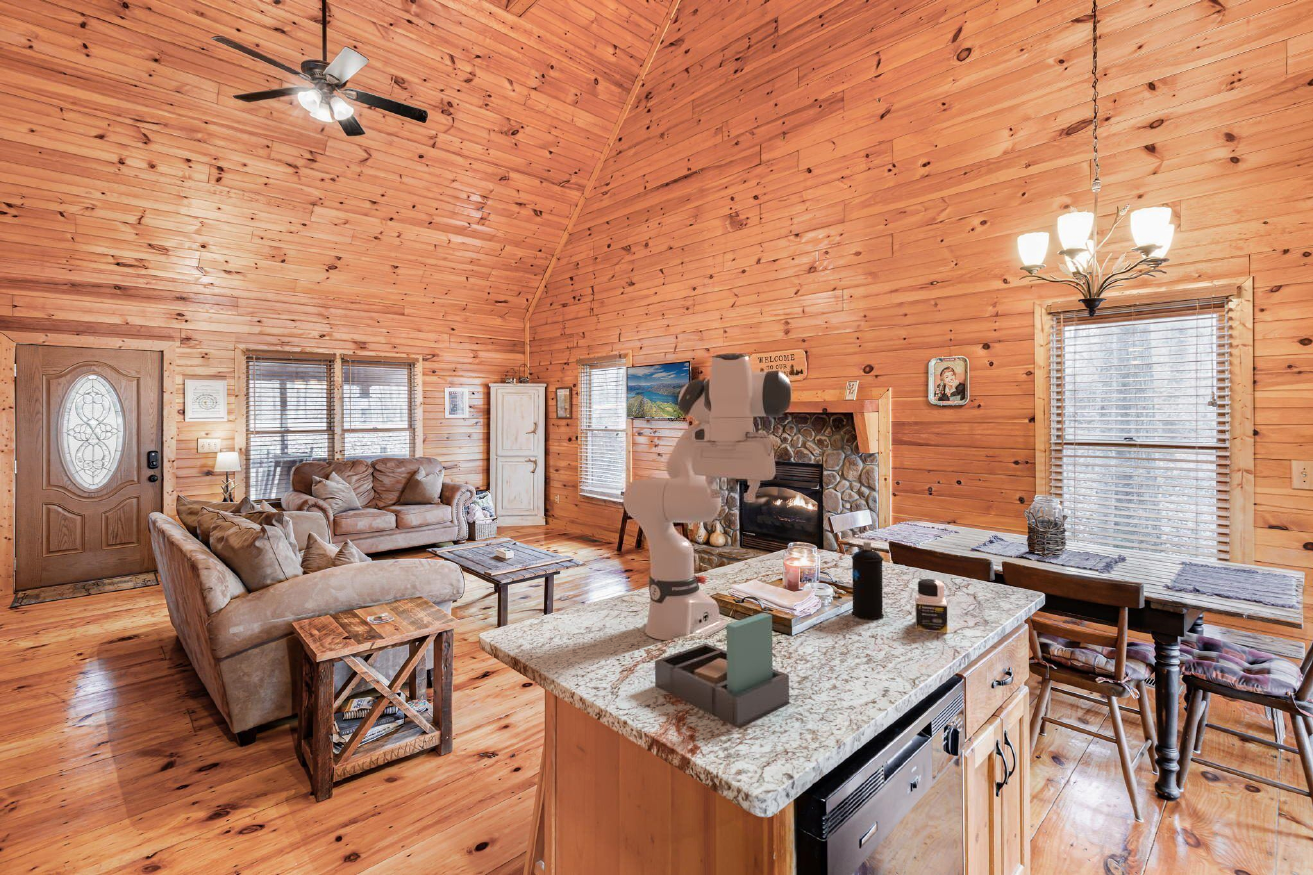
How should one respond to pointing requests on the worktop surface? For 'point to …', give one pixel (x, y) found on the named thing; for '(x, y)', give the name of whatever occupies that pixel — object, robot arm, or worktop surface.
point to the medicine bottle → (931, 606)
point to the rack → (719, 687)
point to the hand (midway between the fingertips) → (732, 500)
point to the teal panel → (749, 652)
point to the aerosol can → (867, 584)
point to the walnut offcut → (713, 671)
